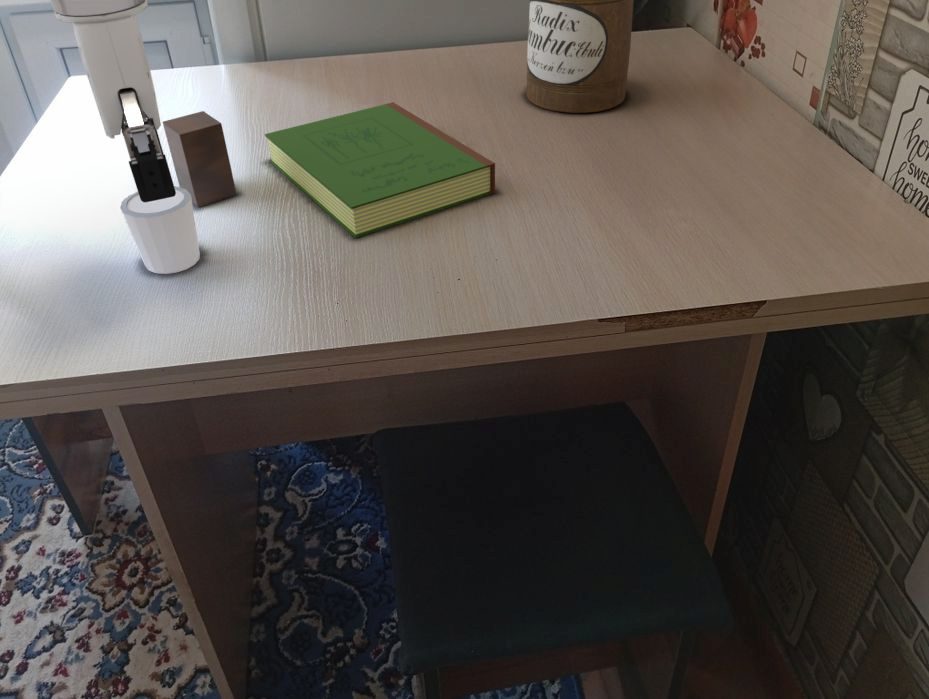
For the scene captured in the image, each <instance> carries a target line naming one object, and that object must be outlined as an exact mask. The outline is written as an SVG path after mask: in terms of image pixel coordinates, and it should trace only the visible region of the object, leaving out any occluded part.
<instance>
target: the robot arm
mask: <svg viewBox="0 0 929 699" xmlns="http://www.w3.org/2000/svg"><path fill="white" fill-rule="evenodd" d="M50 3H51V7H52V9H53V11H54V15H55V18H56V19H57V20H58V21H61V22H63V23H69V24H72V29H73V33H74V36H75V41H76V45H77V48H78V51H79V52H78V53H79V56H80V59H81V61H82V64H83V67H84V71H85V74H86V76H87V80H88V83H89V86H90V89H91V93H92V96H93V99H94V101H95V105H96V108H97V110H98V114H99V117H100V120H101V123H102V127H103V130H104V133H105V136H106V137H108V138H109V139H111V140H113V139H115V136H120V135H121V134H122V137H123V139H124V143H125V146H126V149H127V153H128V156H129V159H130V160H128V165H129V168H130V171H131V174H132V178H133V180H134V184H135V187H136V190H137V192H138V193H139V196H140V199H141V201H142V202H151V201H155V200H160V199H165V198H170V197H174V196H175V195H176V191H175V188H174V186H175V185H174V181H173V177H172V174H171V171H170V167H169V163H168V161H167V156H166V154H164V151H163V150H164V149H163V146H162V142H161V140H160V136H159V134H158V130H159V128H160V127H161V126H162V124H161V117H160V111H159V105H158V101H157V95H156V91H155V86H154V81H153V76H152V72H151V67H150V64H149V59H148V55H147V53H146V52H147V51H146V48H145V44H144V41H143V37H142V34H141V30H140V26H139V22H138V18H137V14H140V13H142V12H144V11H145V10H146V9H147V8H148V1H147V0H50Z"/></svg>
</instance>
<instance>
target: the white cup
mask: <svg viewBox="0 0 929 699" xmlns="http://www.w3.org/2000/svg"><path fill="white" fill-rule="evenodd" d="M174 188H175V191H176V195H175V196H174V197H170V198H165V199H160V200H155V201H151V202H142V201H141V199H140V196H139V193H138V191H136V192H134V193H132V194H129V195H128V196H126V198H125V199H123V200H122V201H121V202H120V207H119V209H120V211H121V213H122V216H123V218H124V220H125V223H126V225H127V228H128V230H129V232H130V234H131V237H132V239H133V241H134V244H135V246H136V248H137V250H138V252H139V255H140V257H141V260H142V262H143V264H144V267H145V268H146V269H147V270H148V271H149V272H152V273H154V274H160V275H169V274H176V273H177V274H178V273H179V272H183V271H187V270H188V269H190V268H192V267H193V266H195V265H196V264H197V263H198V261H199V260H200V257H201V252H200V246H199V240H198V233H197V225H196V219H195V214H194V205H193V203H192V199H191V194H190V193H189V192H188V191H187V190H186V189H183V188H180V186H175V185H174Z"/></svg>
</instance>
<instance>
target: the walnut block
mask: <svg viewBox="0 0 929 699" xmlns="http://www.w3.org/2000/svg"><path fill="white" fill-rule="evenodd" d="M162 125H163V129H164V133H165V138H166V141H167V145H168V148H169V152H170V155H171V156H170V157H171V159H172V164H173V167H174V171H175V175H176V178H177V183H178V187H180V188H183V189H186V190H187V191H188V192H189V193H190V194H191V199H192V205H193V206H196V207H197V208H201V207H205V206H207V205H210V204H213V203H216V202H220V201H223V200H225V199H226V200H227V199H228V198H232V197H235V196H237V195H238V193H237V189H236V184H235V180H234V175H233V171H232V167H231V162H230V156H229V153H228V148H227V144H226V139H225V134H224V133H225V132H224V129H223V124H222V122H220V121H219V120H218V119H216V118H214V117H213V116H211V115H210V114H208V113H207V112H206V111H204V110H201V111H198V112H194V113H190V114H186V115H183V116H178V117H175V118H171V119H168V120H163V121H162Z"/></svg>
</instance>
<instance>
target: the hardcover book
mask: <svg viewBox="0 0 929 699" xmlns="http://www.w3.org/2000/svg"><path fill="white" fill-rule="evenodd" d="M264 137H265V138H266V139H267V142H268V146H269V152H270V158H271V159H269V163H270V164H271V165H273V166H274V167H275V169H277V170H278V171H279V172H280V173H281V174H283V175H284V176H285V178H287V179H288V180H289V181H290V182H292V183H293V184H294V185H295V186H296V187H297V188H298V189H300V190H301V191H302V192H303V193H304V194H305V195H306V196H307V197H308V198H310V199H311V201H313V202H314V203H315V204H316V205H317V206H318V207H320V208H321V209H322V210H323V211H324V212H325V213H326V214H327V215H329V217H331V218H332V219H333V220H334V221H335V222H336V223H337V224H339V225H340V226H341V227H342V228H343V229H344V230H346V231H347V232H348V234H350V235H351V236H352V237H353V238H354V239H357V238H359V237H363V236H366V235H369V234H371V233H375V232H378V231H381V230H384V229H387V228H391V227H393V226H396V225H400V224H402V223H405V222H409V221H412V220H415V219H417V218H421V217H424V216H427V215H430V214H433V213H436V212H439V211H443V210H446V209H448V208H451V207H455V206H458V205H462V204H464V203H467V202H470V201H473V200H476V199H480V198H482V197H485V196H488V195H491V194H495V193H496V163H495V162H494V161H492V160H491V159H489V158H487V157H485V156H484V155H482V154H481V153H479V152H478V151H476V150H473V149H472V148H471V147H469V146H467V145H466V144H463V143H462V142H460V141H459V140H457V139H455V138H454V137H452V136H450V135H449V134H448V133H446V132H444V131H442V130H440V129H439V128H438V127H435V126H433V125H432V124H430V123H429V122H427V121H426V120H424V119H422V118H420V117H419V116H417V115H415V114H414V113H412V112H410V111H408V110H407V109H405V108H403V107H402V106H401V105H399V104H397V103H395V102H392V101H391V102H389V103H384V104H381V105H375V106H373V107H367V108H364V109H360V110H355V111H352V112H348V113H344V114H340V115H336V116H333V117H332V116H331V117H328V118H324V119H320V120H317V121H312V122H308V123H304V124H300V125H295V126H292V127H288V128H284V129H280V130H276V131H272V132H268V133H264Z"/></svg>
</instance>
